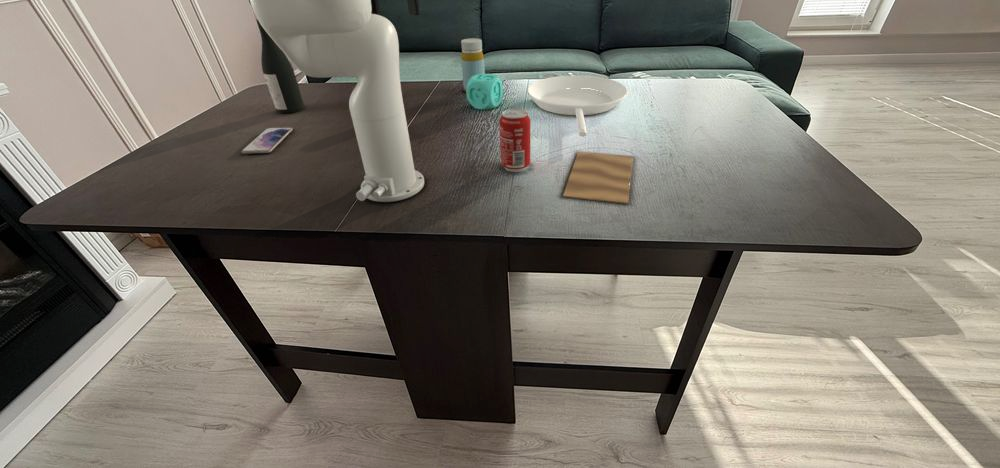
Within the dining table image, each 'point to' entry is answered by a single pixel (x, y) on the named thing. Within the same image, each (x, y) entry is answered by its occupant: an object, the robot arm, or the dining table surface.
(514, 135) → the beverage can
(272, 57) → the wine bottle
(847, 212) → the dining table surface
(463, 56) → the bottle
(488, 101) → the decorative dice
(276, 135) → the smartphone
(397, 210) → the dining table surface
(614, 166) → the wooden trivet
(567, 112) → the pan
